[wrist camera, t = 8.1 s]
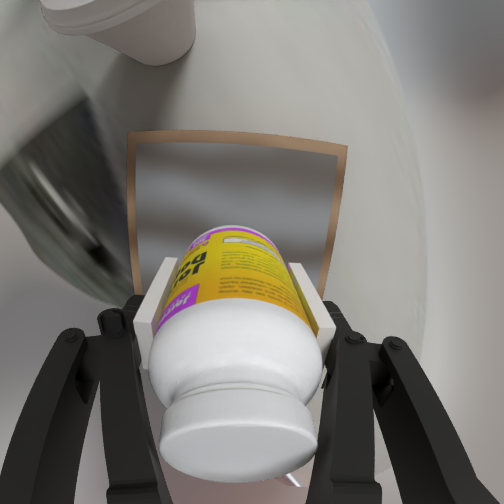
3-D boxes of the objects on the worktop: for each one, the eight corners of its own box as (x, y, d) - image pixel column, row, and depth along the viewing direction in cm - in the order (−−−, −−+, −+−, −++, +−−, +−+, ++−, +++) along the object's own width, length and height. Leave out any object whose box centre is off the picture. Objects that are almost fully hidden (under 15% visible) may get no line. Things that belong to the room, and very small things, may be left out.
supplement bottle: (205, 204, 16) (150, 357, 4) (300, 248, 18) (398, 410, 6) (168, 292, 18) (115, 465, 6) (253, 325, 20) (278, 494, 8)
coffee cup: (217, 68, 20) (202, -19, 6) (118, 92, 20) (17, 56, 6) (207, -7, 17) (194, -105, 3) (116, 16, 17) (43, -50, 3)
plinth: (141, 133, 22) (125, 131, 18) (333, 145, 24) (350, 145, 20) (147, 304, 29) (137, 325, 25) (307, 310, 30) (316, 331, 27)
